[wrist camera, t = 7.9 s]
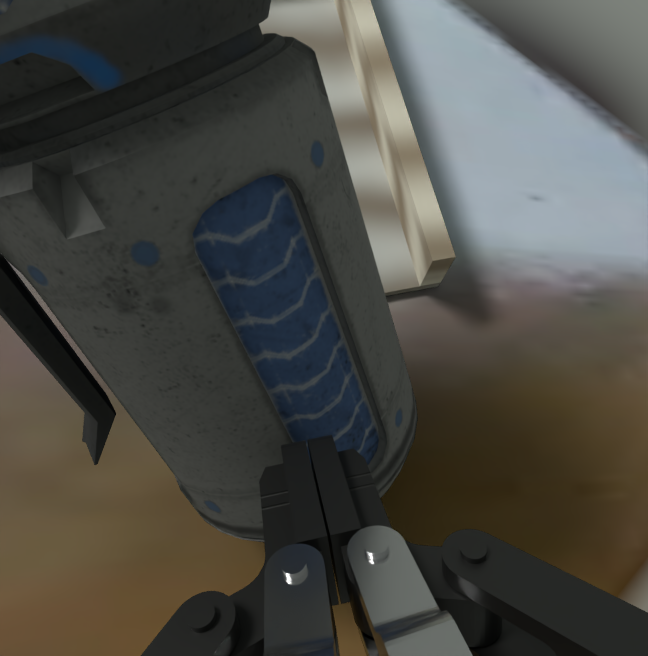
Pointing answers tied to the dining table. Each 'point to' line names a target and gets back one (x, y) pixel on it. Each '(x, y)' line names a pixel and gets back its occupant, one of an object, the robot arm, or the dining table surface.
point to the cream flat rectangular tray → (373, 138)
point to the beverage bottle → (193, 242)
